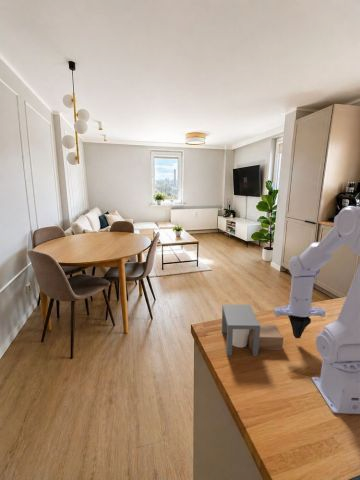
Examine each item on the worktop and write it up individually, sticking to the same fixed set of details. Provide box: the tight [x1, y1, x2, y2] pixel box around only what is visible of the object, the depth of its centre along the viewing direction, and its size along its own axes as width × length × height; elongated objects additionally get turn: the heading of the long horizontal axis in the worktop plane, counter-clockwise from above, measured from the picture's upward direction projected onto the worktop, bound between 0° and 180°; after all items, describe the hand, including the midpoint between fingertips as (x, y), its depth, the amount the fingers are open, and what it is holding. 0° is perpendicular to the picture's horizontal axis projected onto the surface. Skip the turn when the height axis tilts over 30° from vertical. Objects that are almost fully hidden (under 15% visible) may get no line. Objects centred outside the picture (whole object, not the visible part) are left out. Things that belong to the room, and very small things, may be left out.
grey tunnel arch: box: [221, 304, 261, 357], centre depth 73 cm, size 12×9×10 cm
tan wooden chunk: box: [247, 323, 284, 351], centre depth 73 cm, size 7×10×4 cm
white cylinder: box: [232, 329, 250, 348], centre depth 73 cm, size 7×7×7 cm
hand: (296, 336), depth 72 cm, fingers closed
